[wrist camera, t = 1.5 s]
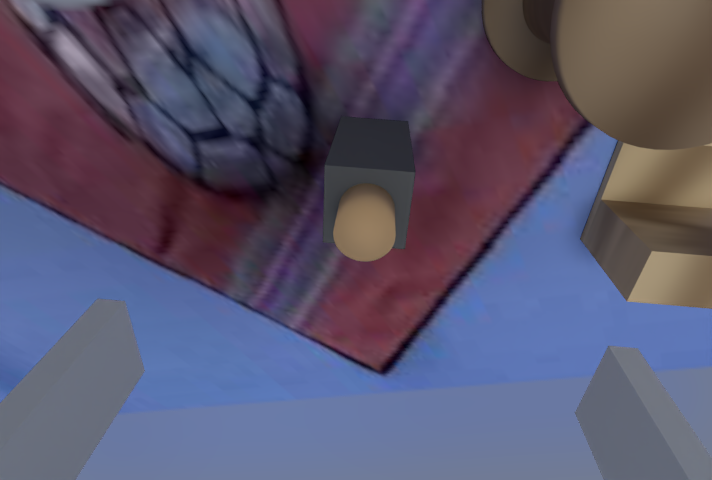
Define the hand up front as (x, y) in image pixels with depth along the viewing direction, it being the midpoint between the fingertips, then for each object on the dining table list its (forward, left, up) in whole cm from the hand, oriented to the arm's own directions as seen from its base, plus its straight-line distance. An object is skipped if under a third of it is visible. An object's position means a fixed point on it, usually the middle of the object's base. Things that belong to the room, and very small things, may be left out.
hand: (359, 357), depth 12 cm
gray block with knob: (0, 0, -17) cm, 17 cm away
